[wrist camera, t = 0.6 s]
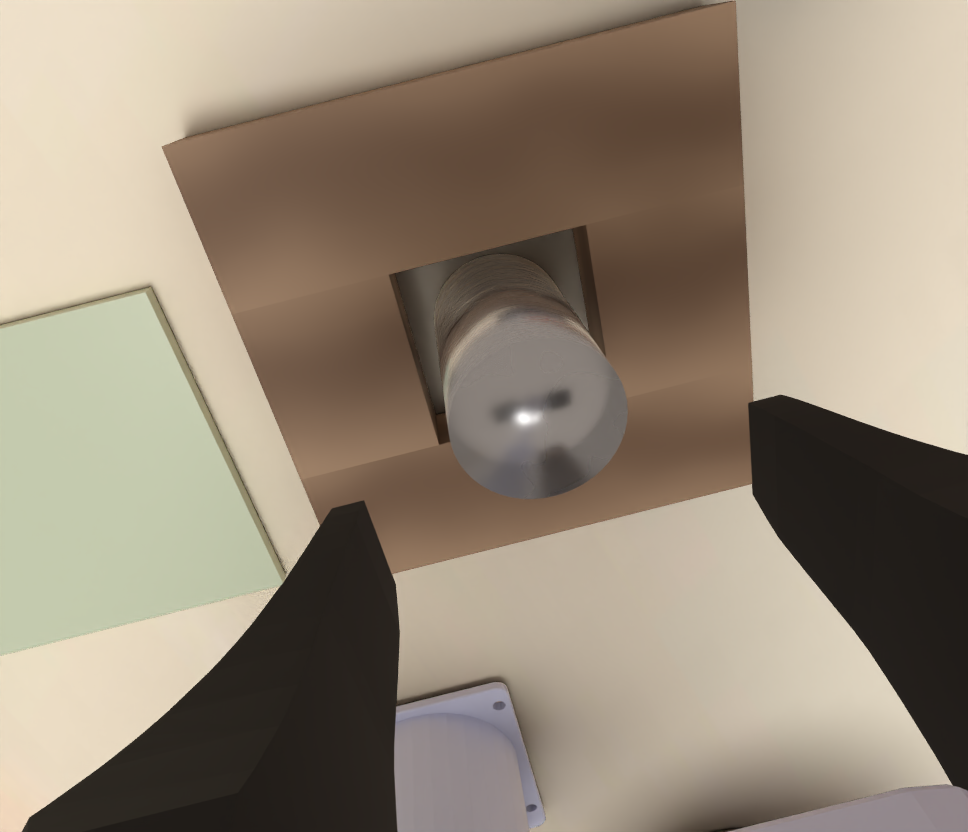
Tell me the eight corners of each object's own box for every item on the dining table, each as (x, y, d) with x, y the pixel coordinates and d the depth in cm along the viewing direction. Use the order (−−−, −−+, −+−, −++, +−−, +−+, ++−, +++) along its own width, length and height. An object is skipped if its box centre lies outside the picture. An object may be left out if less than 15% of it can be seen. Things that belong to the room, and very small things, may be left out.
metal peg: (571, 360, 23) (637, 475, 16) (451, 390, 23) (471, 516, 16) (550, 239, 21) (615, 317, 15) (419, 272, 21) (428, 364, 15)
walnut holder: (731, 452, 25) (757, 482, 23) (348, 548, 25) (345, 585, 23) (703, 5, 18) (735, 0, 17) (184, 138, 18) (161, 146, 17)
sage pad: (285, 575, 25) (283, 584, 25) (-11, 649, 25) (-18, 660, 25) (150, 286, 20) (145, 292, 20) (-220, 381, 20) (-234, 388, 20)
